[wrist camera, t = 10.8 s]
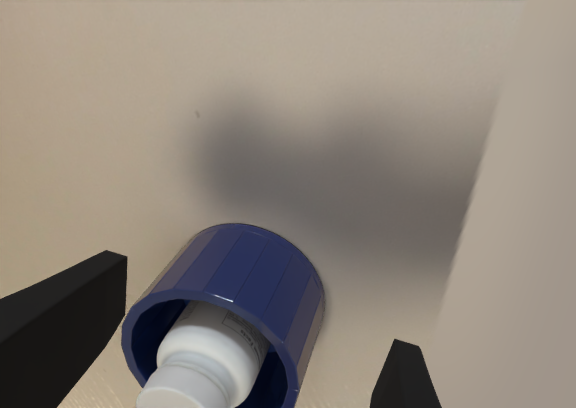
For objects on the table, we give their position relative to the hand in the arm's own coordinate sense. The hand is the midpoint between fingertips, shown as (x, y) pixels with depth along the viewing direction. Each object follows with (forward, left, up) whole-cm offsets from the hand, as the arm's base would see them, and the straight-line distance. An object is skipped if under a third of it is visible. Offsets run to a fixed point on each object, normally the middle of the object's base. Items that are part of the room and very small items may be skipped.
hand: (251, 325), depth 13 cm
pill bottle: (+2, +8, -10) cm, 13 cm away
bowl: (+2, +8, -10) cm, 13 cm away
